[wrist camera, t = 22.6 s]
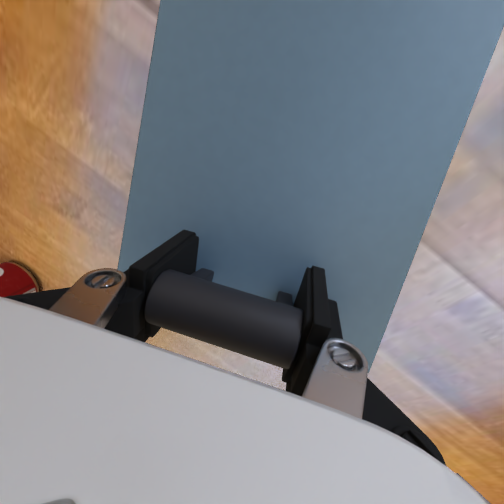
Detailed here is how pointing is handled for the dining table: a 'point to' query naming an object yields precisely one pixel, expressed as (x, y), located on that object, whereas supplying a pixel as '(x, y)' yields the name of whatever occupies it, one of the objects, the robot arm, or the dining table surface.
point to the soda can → (16, 280)
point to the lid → (298, 157)
